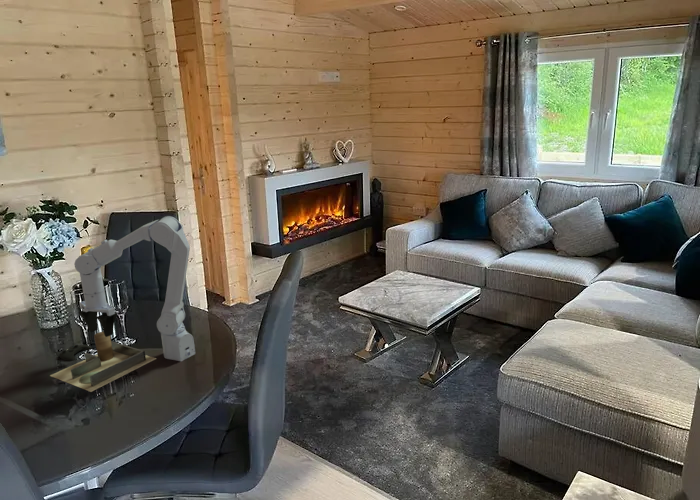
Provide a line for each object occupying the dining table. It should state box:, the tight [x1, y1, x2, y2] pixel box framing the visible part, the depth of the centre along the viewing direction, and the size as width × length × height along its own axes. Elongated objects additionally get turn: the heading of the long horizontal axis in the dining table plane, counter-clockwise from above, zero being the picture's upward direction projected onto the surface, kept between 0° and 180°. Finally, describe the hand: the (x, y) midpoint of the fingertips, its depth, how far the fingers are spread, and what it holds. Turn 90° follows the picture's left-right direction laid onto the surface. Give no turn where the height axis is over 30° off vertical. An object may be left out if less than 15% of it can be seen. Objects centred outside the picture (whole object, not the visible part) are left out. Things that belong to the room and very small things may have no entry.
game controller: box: [58, 344, 93, 362], centre depth 167 cm, size 10×5×6 cm
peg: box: [93, 331, 114, 361], centre depth 162 cm, size 4×4×8 cm
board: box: [49, 351, 157, 393], centre depth 157 cm, size 20×22×1 cm
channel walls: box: [71, 340, 146, 387], centre depth 156 cm, size 16×18×3 cm
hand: (101, 333), depth 160 cm, fingers open, 7 cm apart
